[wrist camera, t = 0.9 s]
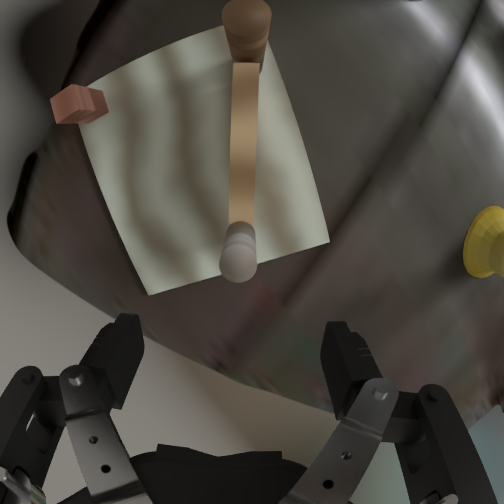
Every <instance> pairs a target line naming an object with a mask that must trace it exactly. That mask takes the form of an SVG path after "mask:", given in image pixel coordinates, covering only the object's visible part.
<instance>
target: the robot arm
mask: <svg viewBox="0 0 504 504" xmlns="http://www.w3.org/2000/svg"><path fill="white" fill-rule="evenodd" d="M412 1H420V0H412ZM143 354H144V339H143V334H142V329H141V324H140V319H139V316H138V315H137V314H130V313H120V314H119V316H118V317H117V319H116V320H115V322H114V323H109V324H107V325H106V326H105V327H103V328H102V329H101V330H100V332H99V333H98V335H97V336H96V338H95V339H94V341H93V343H92V344H91V345H90V347H89V349H88V350H87V352H86V353H85V355H84V357H83V358H82V360H81V361H80V363H79V365H72V366H69V367H67V368H66V369H64V370H63V371H62V372H61V374H60V376H43V375H42V373H41V371H40V369H39V368H37V367H35V366H26V367H23V368H21V369H20V370H18V371H17V372H16V373H15V375H14V377H13V378H12V379H11V381H10V383H9V384H8V386H7V387H6V389H5V390H4V392H3V394H2V395H1V397H0V504H46V497H45V494H44V492H43V491H42V487H43V484H44V481H45V478H46V475H47V472H48V469H49V466H50V464H51V461H52V458H53V455H54V452H55V450H56V447H57V445H58V442H59V440H60V437H61V435H62V432H63V430H64V427H65V426H67V430H68V433H69V436H70V440H71V443H72V446H73V449H74V452H75V455H76V458H77V461H78V464H79V466H80V469H81V472H82V474H83V477H84V479H85V482H86V484H87V486H86V487H85V488H83V489H81V490H80V491H78V492H76V493H75V494H73V495H71V496H70V497H68V498H66V499H64V500H63V501H61V502H59V503H57V504H353V503H352V502H350V501H349V500H350V498H351V496H352V494H353V493H354V491H355V489H356V488H357V486H358V484H359V483H360V481H361V479H362V477H363V475H364V474H365V472H366V470H367V468H368V466H369V464H370V462H371V460H372V458H373V456H374V454H375V452H376V450H377V448H378V446H379V444H380V442H391V443H394V444H395V448H396V451H397V454H398V458H399V461H400V465H401V468H402V472H403V476H404V480H405V483H406V488H407V492H408V496H409V500H410V504H498V503H497V500H496V497H495V494H494V491H493V489H492V486H491V484H490V481H489V478H488V476H487V473H486V471H485V469H484V466H483V464H482V461H481V459H480V457H479V455H478V452H477V450H476V448H475V445H474V444H473V441H472V439H471V437H470V435H469V433H468V430H467V428H466V426H465V424H464V422H463V420H462V418H461V416H460V414H459V412H458V410H457V408H456V406H455V404H454V402H453V400H452V399H451V397H450V395H449V393H448V392H447V390H446V389H444V388H443V387H441V386H439V385H436V384H427V385H424V386H423V387H422V388H421V389H420V391H419V392H418V393H409V392H401V391H398V389H397V387H396V386H395V384H393V383H392V382H391V381H389V380H387V379H383V377H382V375H381V373H380V371H379V369H378V367H377V364H376V362H375V360H374V358H373V356H371V352H370V350H369V349H368V346H367V344H366V342H365V340H364V339H363V338H362V337H361V336H360V335H359V334H358V333H357V332H350V330H349V328H348V326H347V324H346V322H345V321H333V322H327V324H326V328H325V333H324V337H323V342H322V347H321V353H320V359H321V365H322V368H323V372H324V376H325V379H326V383H327V387H328V390H329V394H330V398H331V402H332V405H333V409H334V413H335V417H336V420H341V421H340V423H339V424H338V426H337V427H336V429H335V431H334V432H333V433H332V435H331V436H330V438H329V439H328V441H327V443H326V444H325V445H324V447H323V448H322V450H321V451H320V452H319V454H318V455H317V457H316V458H315V460H314V461H313V462H312V463H311V465H310V466H309V468H307V467H305V466H303V465H301V464H299V463H296V462H293V461H290V460H286V459H282V452H281V451H262V452H261V451H259V452H258V451H252V452H251V451H250V452H245V453H240V454H234V455H228V456H220V457H217V456H213V455H210V454H206V453H203V452H199V451H196V450H193V449H190V448H187V447H179V446H171V445H164V444H158V446H157V451H154V452H147V453H143V454H139V455H136V456H134V457H132V458H130V456H129V454H128V452H127V450H126V448H125V446H124V444H123V442H122V440H121V438H120V436H119V434H118V432H117V430H116V427H115V425H114V423H113V421H112V419H111V416H110V411H111V409H112V408H115V409H119V410H121V409H122V406H123V404H124V401H125V399H126V396H127V394H128V391H129V389H130V386H131V384H132V381H133V379H134V376H135V374H136V371H137V369H138V367H139V364H140V362H141V360H142V357H143ZM32 414H33V415H34V417H33V419H32V421H31V423H30V425H29V427H28V429H27V431H26V427H27V424H28V422H29V420H30V418H31V416H32Z"/></svg>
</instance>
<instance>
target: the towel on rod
mask: <svg viewBox="0 0 504 504" xmlns="http://www.w3.org/2000/svg"><path fill="white" fill-rule="evenodd" d="M221 17H222V22H223V25H222V26H219V27H216V28H213V29H210V30H207V31H204V32H201V33H198V34H195V35H193V36H190V37H187V38H185V39H182V40H180V41H177V42H175V43H172V44H170V45H167V46H165V47H162V48H160V49H158V50H156V51H153V52H151V53H149V54H147V55H145V56H142V57H140V58H138V59H136V60H134V61H132V62H130V63H128V64H126V65H124V66H122V67H120V68H119V69H117V70H115V71H113V72H111V73H109V74H107V75H106V76H104V77H102V78H100V79H99V80H97V81H95V82H94V83H92V84H90V85H89V86H87V87H83V86H78V85H73V84H71V85H70V86H68V87H67V88H65V89H64V90H62V91H61V92H59V93H58V94H57V95H55V96H54V97H52V98H51V99H50V101H51V105H52V109H53V112H54V116H55V120H56V123H57V124H69V123H78V125H79V128H80V131H81V134H82V137H83V140H84V143H85V146H86V149H87V152H88V155H89V158H90V161H91V164H92V167H93V169H94V172H95V175H96V178H97V180H98V183H99V186H100V188H101V191H102V193H103V196H104V198H105V201H106V203H107V206H108V208H109V211H110V213H111V216H112V218H113V220H114V223H115V225H116V227H117V230H118V232H119V234H120V236H121V239H122V241H123V243H124V245H125V248H126V250H127V252H128V254H129V256H130V258H131V260H132V263H133V265H134V267H135V269H136V271H137V273H138V275H139V277H140V279H141V281H142V283H143V285H144V287H145V289H146V291H147V293H148V295H152V294H156V293H159V292H163V291H166V290H169V289H173V288H176V287H180V286H183V285H187V284H190V283H194V282H197V281H201V280H204V279H207V278H211V277H214V276H218V275H221V274H222V273H221V272H220V269H219V261H220V257H221V253H222V249H223V244H224V240H225V236H226V232H227V229H228V227H229V176H230V137H231V106H232V80H233V63H260V66H259V92H258V119H257V145H256V172H255V198H254V224H253V228H254V230H255V235H256V256H257V264H258V263H262V262H265V261H268V260H272V259H275V258H278V257H282V256H285V255H288V254H292V253H295V252H298V251H302V250H305V249H308V248H311V247H315V246H318V245H321V244H325V243H328V242H330V240H329V236H328V232H327V228H326V223H325V219H324V215H323V212H322V208H321V204H320V200H319V196H318V192H317V189H316V185H315V181H314V178H313V174H312V171H311V167H310V164H309V160H308V157H307V154H306V150H305V147H304V144H303V140H302V137H301V134H300V131H299V128H298V124H297V121H296V118H295V115H294V112H293V109H292V106H291V103H290V100H289V97H288V94H287V91H286V89H285V86H284V83H283V80H282V77H281V75H280V72H279V69H278V66H277V64H276V61H275V58H274V56H273V53H272V51H271V48H270V45H269V43H268V40H267V39H268V33H269V28H270V22H271V17H272V14H271V10H270V8H269V6H268V5H267V4H266V3H265V2H264V1H263V0H231V1H230V2H228V3H227V4H226V5H225V7H224V8H223V10H222V15H221Z"/></svg>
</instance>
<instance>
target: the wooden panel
mask: <svg viewBox="0 0 504 504" xmlns="http://www.w3.org/2000/svg"><path fill="white" fill-rule="evenodd" d="M259 66H260V63H233V80H232V106H231V137H230V176H229V227H228V229H227V232H226V236H225V240H224V244H223V249H222V253H221V257H220V261H219V269H220V272H221V273H222V275H223V276H224V277H225V278H226V279H228V280H230V281H232V282H245V281H247V280H249V279H250V278H252V277H253V275H254V274H255V272H256V269H257V256H256V235H255V230H254V228H253V224H254V198H255V172H256V145H257V119H258V92H259Z"/></svg>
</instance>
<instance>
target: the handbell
mask: <svg viewBox="0 0 504 504" xmlns="http://www.w3.org/2000/svg"><path fill="white" fill-rule="evenodd" d="M463 259H464V265H465V267H466V270H467V272H468V273H469V274H470V275H472V276H473V277H477V278H483V277H487V276H490V275H491V274H493V273H494V272H496V273H497V274H498V275H500V276H502V277H503V278H504V209H502V208H501V207H499V206H489V207H487V208H486V209H484V210H482V211H481V212H480V213H479V214H478V215H477V216H476V217H475V219H474V220H473V222H472V224H471V226H470V227H469V229H468V232H467V235H466V238H465V241H464V249H463Z"/></svg>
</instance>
